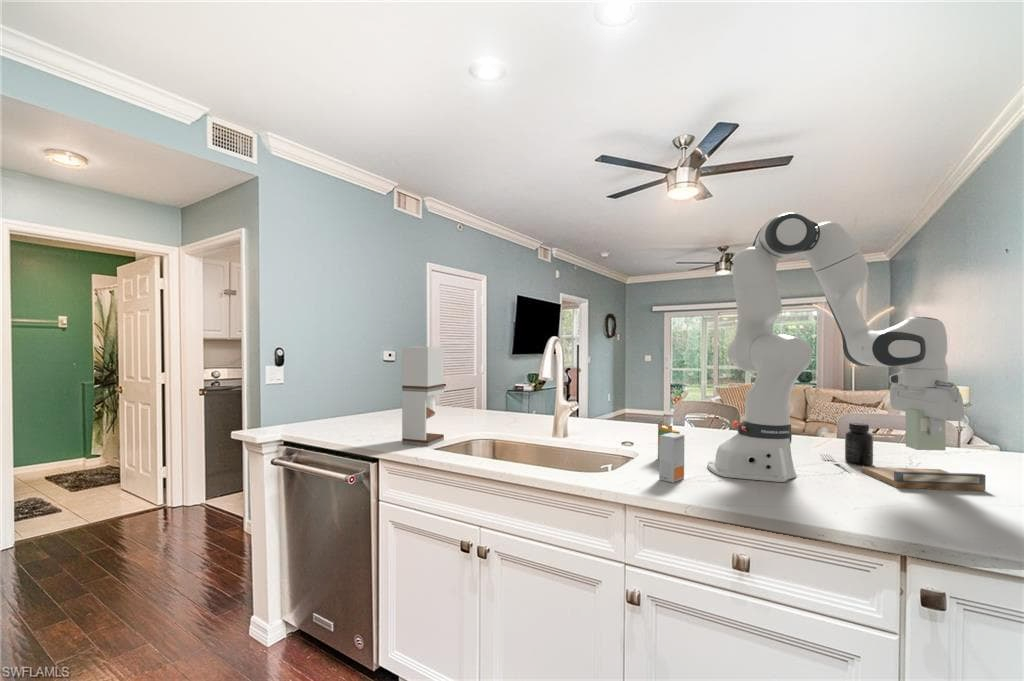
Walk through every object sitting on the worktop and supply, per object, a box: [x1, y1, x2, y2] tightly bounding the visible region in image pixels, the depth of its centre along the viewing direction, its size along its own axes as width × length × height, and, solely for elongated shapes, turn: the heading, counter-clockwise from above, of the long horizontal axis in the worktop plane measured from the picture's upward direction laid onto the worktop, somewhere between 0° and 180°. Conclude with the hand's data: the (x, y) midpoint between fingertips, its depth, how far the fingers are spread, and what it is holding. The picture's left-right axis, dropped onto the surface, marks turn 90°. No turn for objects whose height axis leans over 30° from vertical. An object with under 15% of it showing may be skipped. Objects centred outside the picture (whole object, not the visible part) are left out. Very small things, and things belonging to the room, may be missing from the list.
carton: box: [904, 409, 946, 451], centre depth 118 cm, size 4×6×10 cm, turn 82°
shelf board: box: [861, 466, 986, 491], centre depth 121 cm, size 20×14×4 cm
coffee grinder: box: [401, 346, 445, 447], centre depth 168 cm, size 11×11×35 cm
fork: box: [820, 453, 855, 474], centre depth 133 cm, size 3×24×2 cm, turn 168°
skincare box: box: [658, 433, 685, 484], centre depth 123 cm, size 6×4×12 cm
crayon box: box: [657, 421, 681, 460], centre depth 141 cm, size 7×3×12 cm, turn 16°
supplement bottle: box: [844, 422, 874, 467], centre depth 139 cm, size 7×7×12 cm
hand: (924, 432), depth 118 cm, fingers closed on carton, 4 cm apart
